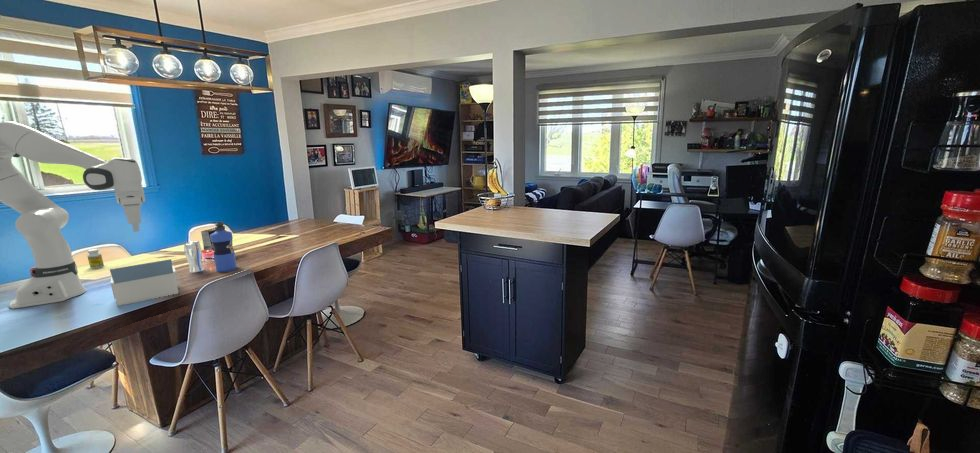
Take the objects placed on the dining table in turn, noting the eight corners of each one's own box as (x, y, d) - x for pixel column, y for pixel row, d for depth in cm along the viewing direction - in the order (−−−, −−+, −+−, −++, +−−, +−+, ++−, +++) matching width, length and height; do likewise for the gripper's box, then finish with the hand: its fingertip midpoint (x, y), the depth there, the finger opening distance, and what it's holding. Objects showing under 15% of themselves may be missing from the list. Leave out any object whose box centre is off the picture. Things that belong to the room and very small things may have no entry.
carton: (115, 306, 164) (110, 283, 162) (116, 296, 175) (111, 274, 173) (180, 293, 178) (175, 271, 176) (177, 284, 188) (173, 264, 186)
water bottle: (213, 273, 204) (204, 224, 199) (219, 267, 213) (212, 221, 208) (233, 271, 207) (226, 223, 201) (239, 265, 216) (232, 219, 210)
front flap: (113, 282, 163) (114, 283, 163) (109, 269, 157) (109, 270, 157) (173, 272, 175) (173, 273, 175) (171, 259, 169) (171, 260, 169)
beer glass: (191, 274, 203) (185, 245, 200) (186, 271, 208) (181, 243, 204) (207, 270, 209) (202, 242, 206) (202, 268, 213) (197, 240, 210)
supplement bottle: (103, 264, 221) (100, 247, 219) (104, 266, 217) (100, 249, 215) (90, 267, 218) (86, 249, 216) (90, 269, 214) (86, 251, 212)
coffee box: (214, 259, 229) (209, 231, 225) (205, 258, 230) (200, 231, 226) (227, 254, 237) (223, 227, 234) (218, 254, 239) (214, 227, 235)
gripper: (120, 195, 170) (126, 227, 173) (119, 201, 155) (126, 236, 158) (140, 194, 174) (145, 226, 177) (141, 200, 159) (147, 234, 162)
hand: (136, 231), depth 168 cm, fingers closed
